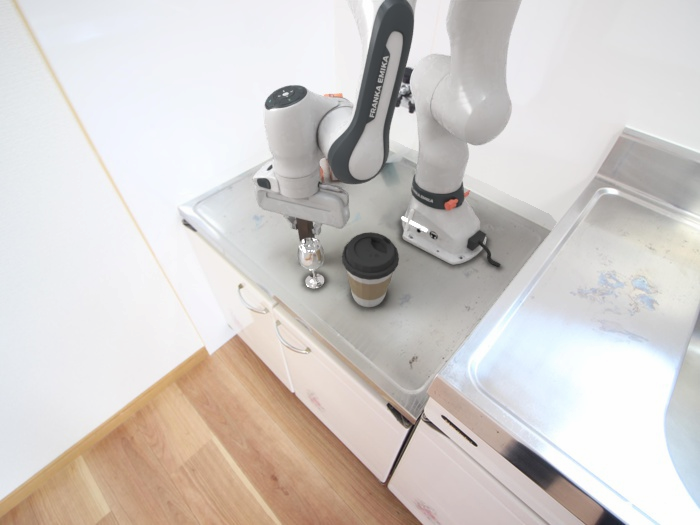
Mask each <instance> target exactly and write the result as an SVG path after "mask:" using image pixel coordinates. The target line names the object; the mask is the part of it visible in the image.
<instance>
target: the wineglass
mask: <svg viewBox="0 0 700 525" xmlns="http://www.w3.org/2000/svg"><path fill="white" fill-rule="evenodd" d="M325 257H326V255H325V249H324V247H323V244H322V243H321V240H319V239H318V238H316V237H315V238H313V237H308V238H305V239H303V240H302V241H300V240H299V243H298V247H297V261H298V263H299V265H300V266H301V267H302V268H303V269H305V270H308V271H311V272H312V273H311V274H309V275H308V276H307V277H306V278H305V281H304V282H305V285H306V286H307V287H308V288H310V289H314V290H315V289H319V288H321V287H322V286H323V285H324V283H325V277H324V276H323V275H322V274H321V273H316V270H318V269H319V268H321V267H322V266H323V265H324V263H325V259H326V258H325Z"/></svg>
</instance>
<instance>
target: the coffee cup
mask: <svg viewBox="0 0 700 525" xmlns="http://www.w3.org/2000/svg"><path fill="white" fill-rule="evenodd" d="M399 260H400V254H399V251H398V248H397V247H396V245H395V244H394V243H393V242H392V240H391V238H388V237H387V236H385V235H384V234H381V233H379V232H362V233H359V234H357V235H355V236H353V237H352V238H351V239H350V240H349V241H348V242H347V243H346V244H345V246H344V247H343V250H342V255H341V262H342V265H343V267H344V268H345V270H346V273H347V278H348V282H349V287H350V291H351V296H352V297H353V300H354V301H355V303H356V304H357V305H359V306H361V307H363V308H374V307H377V306H378V305H380V304H381V303H382V302H383V301H384V299H385V297H386V295H387V291H388V289H389V286H390V282H391V279H392V276H393V273H394V272H395V270H396V269H397V267H398V266H399Z"/></svg>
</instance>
